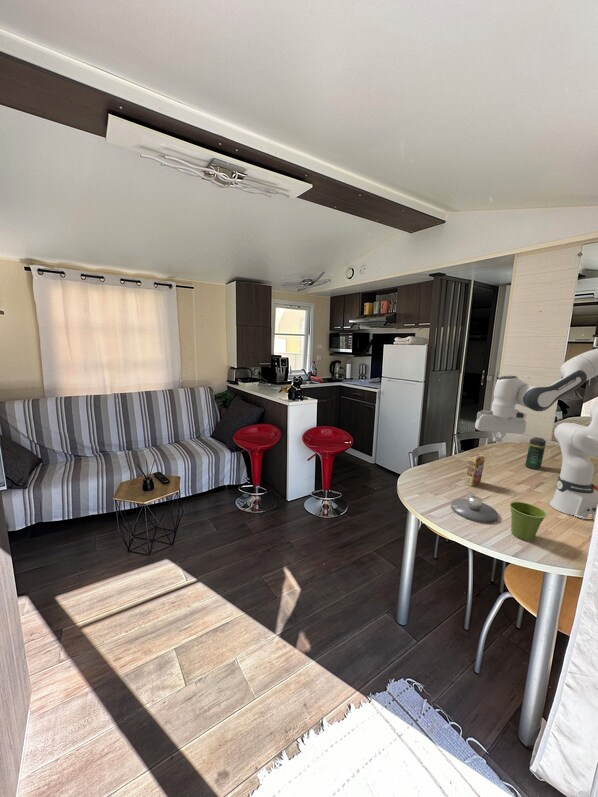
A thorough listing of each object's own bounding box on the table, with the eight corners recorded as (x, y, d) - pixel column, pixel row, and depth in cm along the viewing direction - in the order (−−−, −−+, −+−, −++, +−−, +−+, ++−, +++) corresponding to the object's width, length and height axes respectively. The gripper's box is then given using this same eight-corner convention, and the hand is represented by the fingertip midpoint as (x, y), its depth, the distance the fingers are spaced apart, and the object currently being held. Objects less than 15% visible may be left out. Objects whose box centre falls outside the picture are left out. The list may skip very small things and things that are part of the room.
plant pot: (534, 549, 120) (539, 520, 118) (499, 532, 129) (504, 506, 127) (546, 538, 127) (551, 511, 125) (512, 524, 136) (517, 498, 134)
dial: (482, 511, 141) (484, 502, 141) (470, 509, 142) (471, 500, 141) (474, 500, 151) (475, 492, 150) (462, 499, 151) (464, 490, 151)
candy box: (472, 486, 170) (476, 458, 167) (464, 483, 174) (468, 456, 171) (481, 483, 175) (485, 456, 172) (473, 480, 179) (477, 453, 176)
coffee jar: (539, 471, 197) (545, 441, 194) (523, 467, 202) (529, 438, 199) (541, 467, 204) (547, 438, 201) (526, 463, 210) (531, 435, 206)
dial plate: (486, 504, 152) (487, 500, 152) (505, 525, 135) (505, 521, 134) (446, 499, 154) (446, 496, 154) (458, 520, 137) (459, 516, 137)
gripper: (480, 411, 146) (476, 441, 149) (530, 415, 144) (524, 445, 146) (475, 408, 153) (470, 437, 155) (522, 412, 150) (517, 441, 152)
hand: (497, 441), depth 151 cm, fingers closed
